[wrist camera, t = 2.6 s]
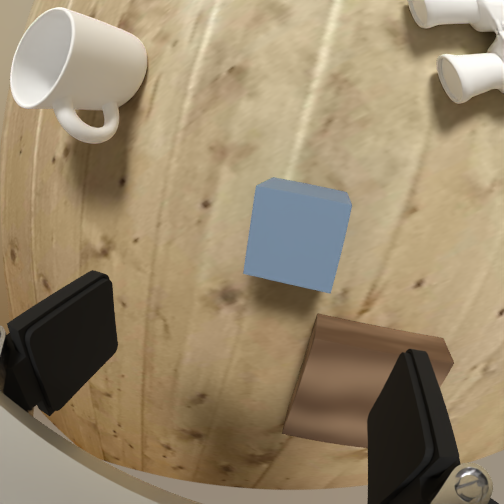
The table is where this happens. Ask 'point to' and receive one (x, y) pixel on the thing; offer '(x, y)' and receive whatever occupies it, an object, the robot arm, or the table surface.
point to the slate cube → (297, 233)
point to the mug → (77, 70)
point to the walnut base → (350, 377)
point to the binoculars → (473, 65)
